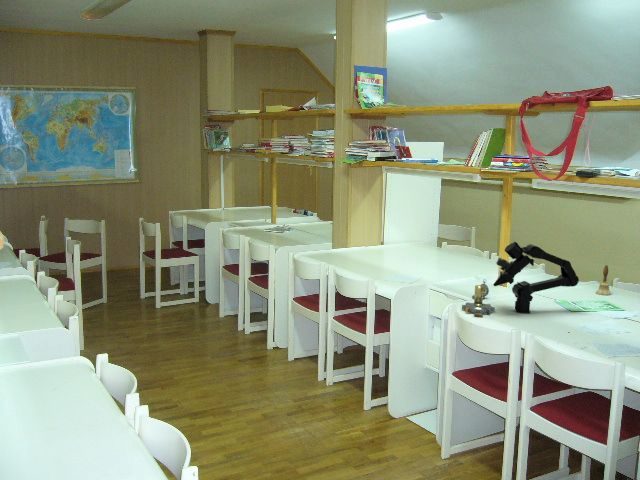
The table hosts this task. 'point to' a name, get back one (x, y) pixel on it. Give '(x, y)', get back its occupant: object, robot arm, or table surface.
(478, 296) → the sprocket
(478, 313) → the pointer
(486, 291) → the pocket watch
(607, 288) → the hand bell
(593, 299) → the table surface
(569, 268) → the robot arm
